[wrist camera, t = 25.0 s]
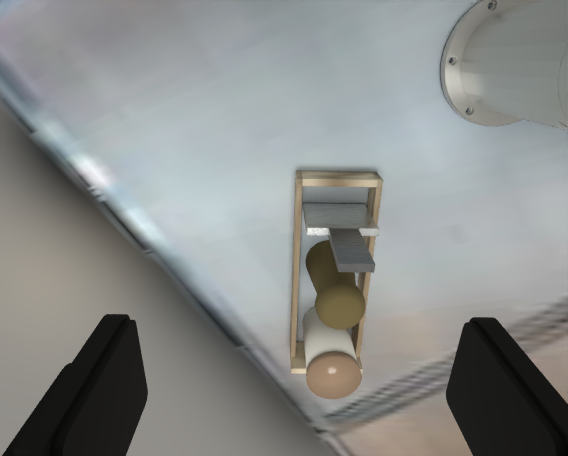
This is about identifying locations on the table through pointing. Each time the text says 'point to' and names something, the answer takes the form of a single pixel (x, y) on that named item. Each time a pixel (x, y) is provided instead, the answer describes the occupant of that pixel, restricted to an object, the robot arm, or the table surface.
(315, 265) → the olive brown waisted cylinder
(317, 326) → the jar
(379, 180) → the wooden tray
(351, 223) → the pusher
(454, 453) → the table surface
